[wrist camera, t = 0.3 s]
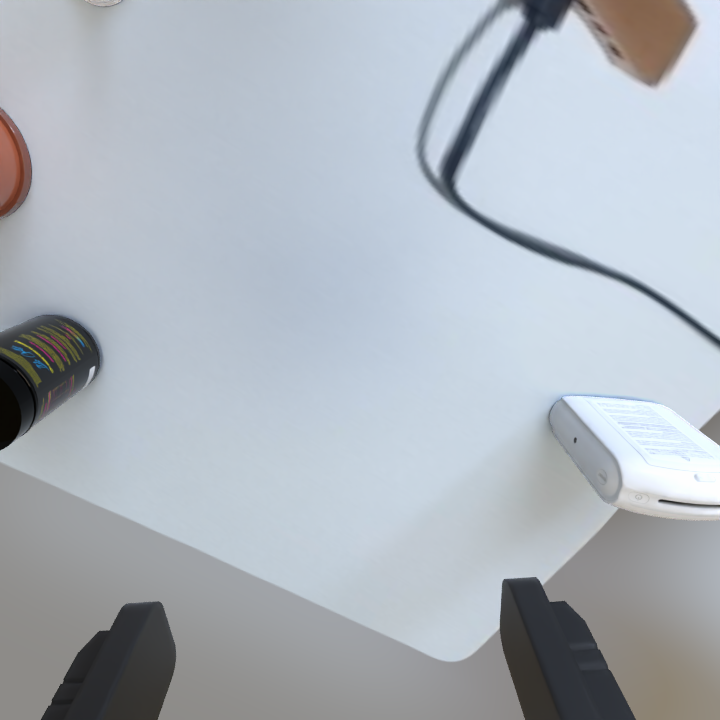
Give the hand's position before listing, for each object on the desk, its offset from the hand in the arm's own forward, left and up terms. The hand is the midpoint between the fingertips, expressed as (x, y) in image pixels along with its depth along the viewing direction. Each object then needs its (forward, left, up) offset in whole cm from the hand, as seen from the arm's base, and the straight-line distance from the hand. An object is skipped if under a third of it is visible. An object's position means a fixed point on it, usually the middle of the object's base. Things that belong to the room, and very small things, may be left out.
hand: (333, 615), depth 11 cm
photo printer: (+11, +22, -29) cm, 38 cm away
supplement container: (+3, -24, -29) cm, 38 cm away
